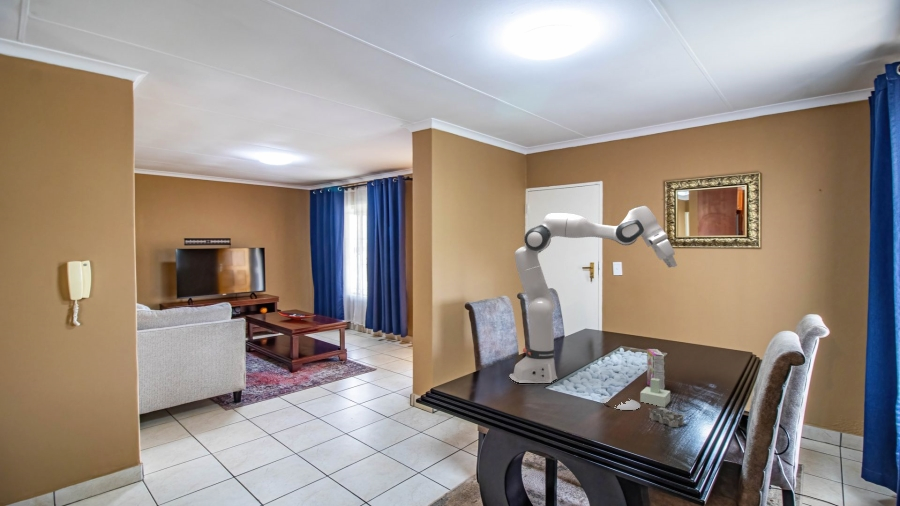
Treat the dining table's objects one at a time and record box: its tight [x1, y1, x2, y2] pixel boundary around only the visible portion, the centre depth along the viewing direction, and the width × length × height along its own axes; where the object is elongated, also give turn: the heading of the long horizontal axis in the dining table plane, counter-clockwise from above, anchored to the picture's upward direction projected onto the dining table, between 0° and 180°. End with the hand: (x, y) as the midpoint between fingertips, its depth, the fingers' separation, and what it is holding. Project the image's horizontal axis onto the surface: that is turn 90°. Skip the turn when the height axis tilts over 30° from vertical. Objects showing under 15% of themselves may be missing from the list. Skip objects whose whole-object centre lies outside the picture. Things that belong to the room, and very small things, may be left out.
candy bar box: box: [646, 348, 666, 390], centre depth 191 cm, size 11×5×16 cm, turn 168°
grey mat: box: [602, 396, 641, 411], centre depth 173 cm, size 14×14×1 cm
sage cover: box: [639, 378, 671, 408], centre depth 176 cm, size 9×9×9 cm
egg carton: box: [648, 407, 686, 428], centre depth 156 cm, size 11×8×4 cm
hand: (673, 266), depth 187 cm, fingers open, 8 cm apart
